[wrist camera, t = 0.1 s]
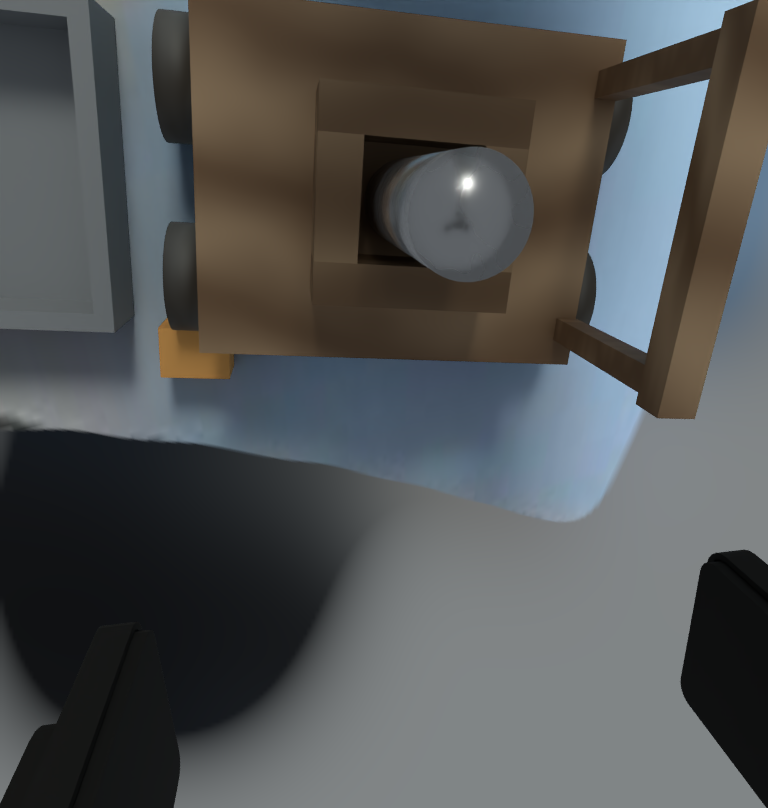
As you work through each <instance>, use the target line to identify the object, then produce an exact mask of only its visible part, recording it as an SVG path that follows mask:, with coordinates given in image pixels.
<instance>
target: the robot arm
mask: <svg viewBox="0 0 768 808" xmlns="http://www.w3.org/2000/svg"><path fill="white" fill-rule="evenodd" d="M681 689H682V692H683V695H684V697H685V699H686V701H687V703H688V704H689V705H690V707H691V708H692V709H693V711H694V712H695V713H696V715H697V716H698V717H699V719H700V720H701V721H702V723H703V724H704V725H705V727H706V728H707V729H708V731H709V732H710V733H711V735H712V736H713V737H714V739H715V740H716V741H717V743H718V744H719V745H720V747H721V748H722V749H723V751H724V752H725V753H726V754H727V756H728V757H729V759H730V760H731V761H732V763H733V764H734V765H735V767H736V768H737V769H738V771H739V772H740V773H741V774H742V776H743V777H744V778H745V780H746V781H747V782H748V784H749V785H750V787H751V788H752V789H753V791H754V792H755V793H756V794H757V796H758V797H759V799H760V800H761V801H762V803H763V804H764V805H765V806H766V808H768V565H767V564H766V563H765V562H764V561H762V560H761V559H760V558H759V557H758V556H756V555H755V554H754V553H752V552H750V551H748V550H738V551H729V552H721V553H715V554H712V555H711V556H710V557H709V559H708V562H707V563H705V564H703V566H702V567H701V570H700V575H699V581H698V586H697V592H696V597H695V603H694V608H693V614H692V619H691V625H690V631H689V637H688V642H687V647H686V653H685V659H684V664H683V669H682V675H681ZM179 774H180V755H179V749H178V744H177V739H176V735H175V729H174V725H173V720H172V715H171V710H170V706H169V701H168V696H167V691H166V687H165V682H164V677H163V672H162V667H161V663H160V658H159V653H158V648H157V644H156V639H155V635H154V632H153V631H152V630H146V631H143V630H142V627H141V625H140V623H139V622H132V623H124V624H115V625H107V626H101V627H100V628H98V630H97V632H96V634H95V636H94V638H93V640H92V643H91V645H90V647H89V650H88V652H87V654H86V657H85V659H84V661H83V664H82V666H81V669H80V670H79V673H78V675H77V677H76V680H75V682H74V684H73V687H72V689H71V691H70V694H69V696H68V698H67V700H66V703H65V705H64V707H63V710H62V712H61V714H60V717H59V719H58V721H57V724H50V725H43V726H41V727H40V728H38V729H37V730H36V731H35V733H34V734H33V736H32V738H31V740H30V741H29V743H28V745H27V747H26V749H25V752H24V754H23V756H22V758H21V760H20V763H19V765H18V767H17V769H16V771H15V773H14V775H13V777H12V779H11V782H10V784H9V786H8V788H7V790H6V792H5V795H4V797H3V799H2V801H1V803H0V808H174V802H175V797H176V792H177V786H178V780H179Z"/></svg>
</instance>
